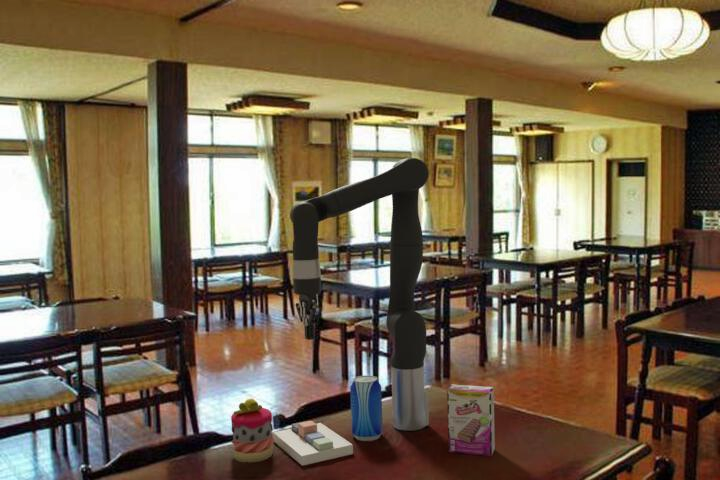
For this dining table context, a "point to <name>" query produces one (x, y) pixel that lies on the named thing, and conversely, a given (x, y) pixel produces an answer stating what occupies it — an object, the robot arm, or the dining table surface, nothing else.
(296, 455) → the keypad frame
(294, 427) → the charcoal key
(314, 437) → the slate-blue key
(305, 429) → the terracotta key
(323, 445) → the sage key
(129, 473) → the dining table surface
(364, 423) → the beer can
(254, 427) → the cake
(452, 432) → the candy bar box
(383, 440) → the dining table surface
